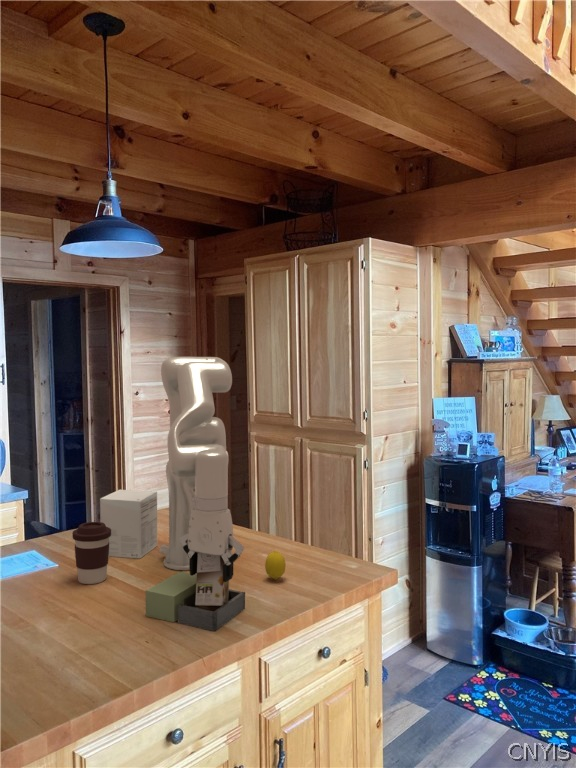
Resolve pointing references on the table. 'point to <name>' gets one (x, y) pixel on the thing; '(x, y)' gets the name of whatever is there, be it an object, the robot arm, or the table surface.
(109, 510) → the supplement box
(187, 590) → the sage green box
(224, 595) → the coffee box
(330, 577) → the table surface
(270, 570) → the lemon
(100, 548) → the coffee cup
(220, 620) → the frame
